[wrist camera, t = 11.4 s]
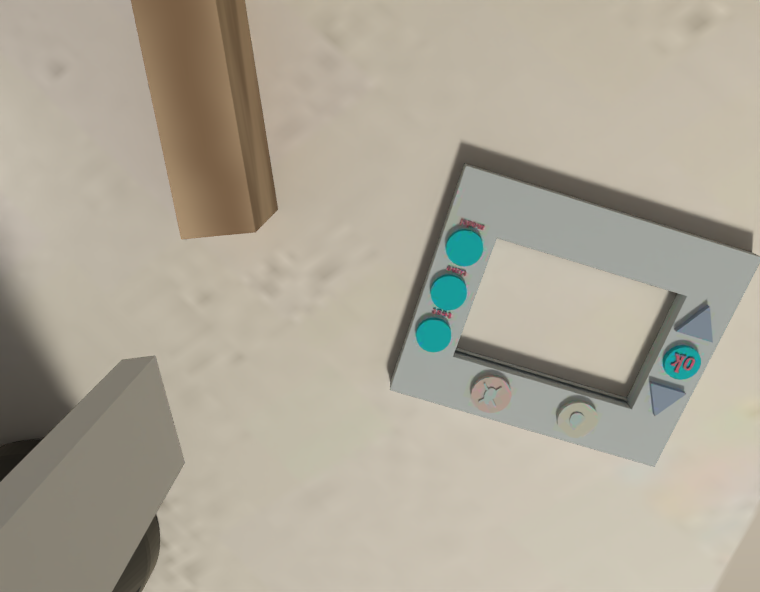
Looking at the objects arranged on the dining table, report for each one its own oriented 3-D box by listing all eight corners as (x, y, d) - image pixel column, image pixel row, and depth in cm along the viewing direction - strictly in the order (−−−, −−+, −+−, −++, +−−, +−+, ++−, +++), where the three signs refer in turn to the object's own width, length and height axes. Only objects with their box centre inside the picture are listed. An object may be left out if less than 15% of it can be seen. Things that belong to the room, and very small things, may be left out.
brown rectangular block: (214, 215, 40) (181, 239, 34) (173, 3, 36) (128, -10, 30) (277, 209, 39) (255, 232, 34) (243, -5, 35) (211, -21, 30)
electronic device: (766, 259, 37) (656, 470, 42) (747, 250, 39) (644, 451, 44) (466, 166, 36) (389, 393, 41) (463, 161, 39) (390, 377, 43)
